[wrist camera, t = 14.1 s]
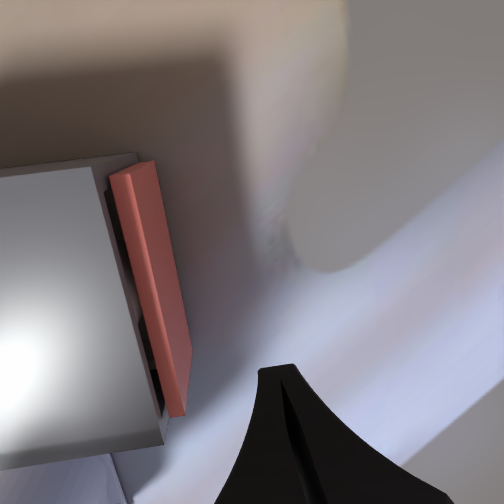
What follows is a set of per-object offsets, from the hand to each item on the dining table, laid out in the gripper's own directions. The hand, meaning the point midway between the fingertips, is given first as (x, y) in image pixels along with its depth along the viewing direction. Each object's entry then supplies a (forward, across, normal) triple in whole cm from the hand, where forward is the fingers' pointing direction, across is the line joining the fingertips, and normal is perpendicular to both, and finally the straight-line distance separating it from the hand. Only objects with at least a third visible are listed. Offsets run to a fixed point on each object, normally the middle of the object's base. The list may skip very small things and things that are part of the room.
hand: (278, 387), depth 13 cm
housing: (+10, +11, -2) cm, 15 cm away
